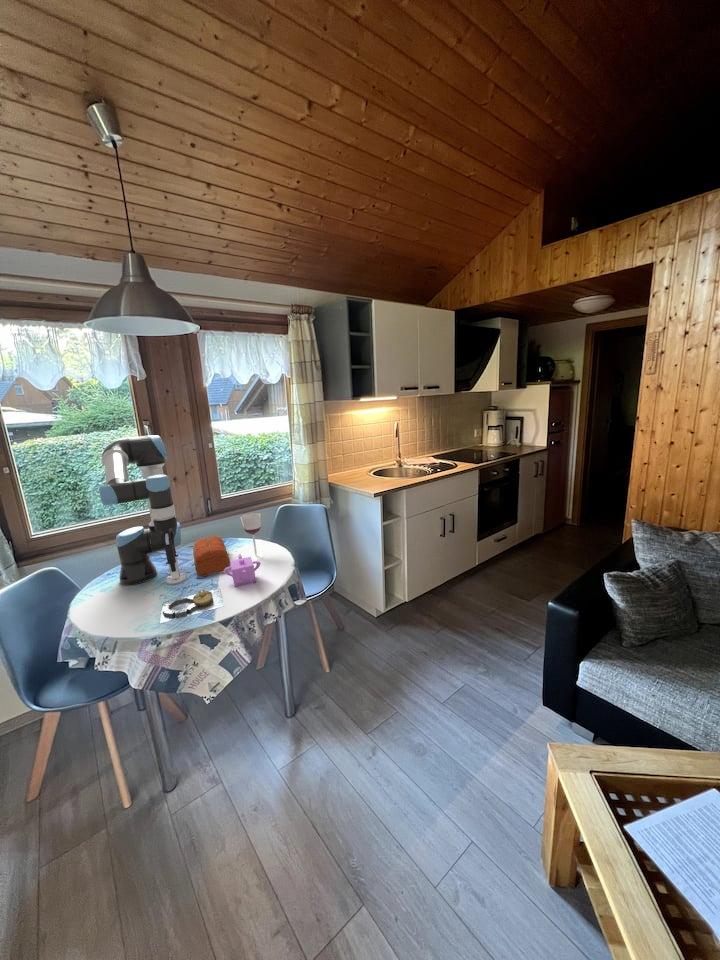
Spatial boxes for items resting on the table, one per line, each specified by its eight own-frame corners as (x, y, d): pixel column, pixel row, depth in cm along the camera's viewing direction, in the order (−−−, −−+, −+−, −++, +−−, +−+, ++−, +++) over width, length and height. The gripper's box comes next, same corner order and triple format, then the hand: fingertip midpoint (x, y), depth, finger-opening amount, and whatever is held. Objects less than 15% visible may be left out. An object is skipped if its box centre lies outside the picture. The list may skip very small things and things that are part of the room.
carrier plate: (163, 605, 154) (162, 599, 153) (221, 591, 162) (220, 585, 161) (160, 626, 139) (159, 620, 139) (224, 609, 148) (223, 603, 147)
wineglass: (263, 560, 190) (257, 518, 185) (244, 561, 190) (238, 519, 185) (267, 553, 198) (262, 512, 194) (249, 554, 199) (243, 513, 194)
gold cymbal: (193, 599, 154) (192, 589, 153) (212, 595, 156) (210, 585, 155) (194, 608, 147) (192, 597, 146) (213, 603, 150) (211, 592, 149)
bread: (196, 578, 176) (192, 556, 174) (194, 557, 200) (190, 538, 198) (231, 569, 183) (228, 549, 180) (225, 550, 206) (222, 532, 204)
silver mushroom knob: (166, 579, 148) (162, 558, 146) (186, 574, 151) (182, 554, 149) (165, 586, 142) (161, 565, 140) (186, 582, 144) (182, 561, 143)
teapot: (220, 586, 166) (216, 563, 164) (242, 573, 178) (239, 551, 175) (247, 593, 159) (243, 568, 157) (268, 578, 171) (265, 555, 168)
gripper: (154, 513, 146) (165, 570, 152) (151, 525, 132) (163, 588, 137) (176, 510, 149) (186, 566, 155) (175, 521, 135) (186, 582, 140)
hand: (175, 576), depth 146 cm, fingers closed on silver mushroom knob, 3 cm apart
